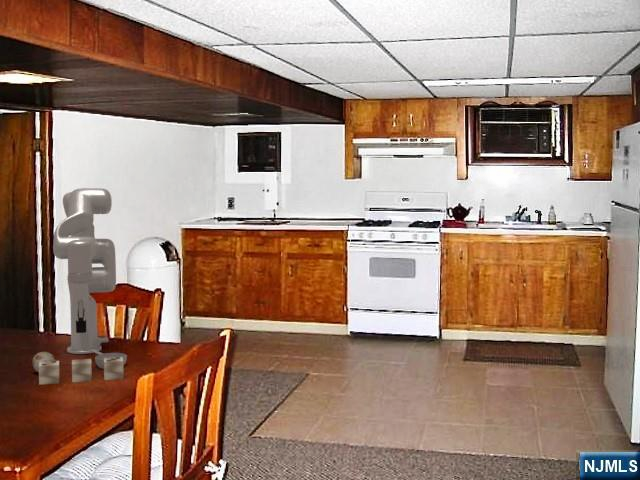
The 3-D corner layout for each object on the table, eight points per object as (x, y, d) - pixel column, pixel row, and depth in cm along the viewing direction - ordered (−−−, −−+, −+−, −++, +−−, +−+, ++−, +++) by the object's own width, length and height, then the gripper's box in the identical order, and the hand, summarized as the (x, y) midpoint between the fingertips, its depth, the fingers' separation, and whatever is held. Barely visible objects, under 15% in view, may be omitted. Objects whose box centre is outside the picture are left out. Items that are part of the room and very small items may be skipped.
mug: (37, 380, 249) (28, 352, 251) (39, 386, 258) (30, 358, 260) (60, 372, 252) (51, 344, 254) (61, 378, 260) (53, 351, 263)
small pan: (105, 371, 260) (105, 360, 260) (78, 362, 272) (78, 352, 272) (133, 366, 268) (132, 355, 267) (105, 357, 280) (105, 347, 280)
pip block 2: (122, 374, 256) (122, 356, 256) (123, 379, 251) (123, 360, 250) (104, 375, 255) (103, 357, 254) (104, 380, 249) (104, 361, 248)
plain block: (91, 376, 254) (91, 358, 253) (91, 381, 248) (91, 363, 247) (72, 377, 252) (72, 359, 251) (72, 382, 246) (71, 364, 246)
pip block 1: (59, 378, 251) (59, 360, 250) (59, 383, 245) (58, 364, 244) (40, 380, 249) (39, 361, 248) (39, 384, 243) (38, 365, 243)
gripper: (68, 274, 257) (69, 327, 259) (67, 282, 243) (68, 338, 245) (91, 273, 259) (92, 326, 261) (92, 281, 245) (93, 337, 247)
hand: (81, 332), depth 253 cm, fingers closed
